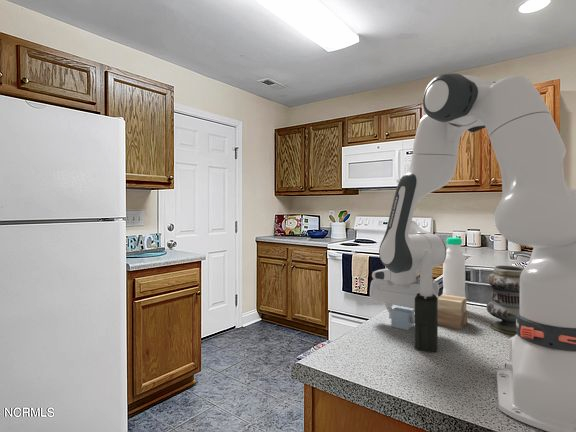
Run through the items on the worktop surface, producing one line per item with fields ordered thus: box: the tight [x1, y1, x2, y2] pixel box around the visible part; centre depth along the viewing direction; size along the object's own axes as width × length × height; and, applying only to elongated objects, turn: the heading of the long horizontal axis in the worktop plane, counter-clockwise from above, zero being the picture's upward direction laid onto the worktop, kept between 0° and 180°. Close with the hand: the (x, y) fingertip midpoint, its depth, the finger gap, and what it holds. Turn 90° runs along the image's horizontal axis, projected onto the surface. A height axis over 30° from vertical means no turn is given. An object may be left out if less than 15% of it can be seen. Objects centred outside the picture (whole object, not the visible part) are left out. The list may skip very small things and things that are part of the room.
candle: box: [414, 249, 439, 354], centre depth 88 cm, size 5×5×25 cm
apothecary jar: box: [485, 264, 525, 336], centre depth 100 cm, size 12×12×18 cm
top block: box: [438, 293, 467, 316], centre depth 106 cm, size 7×7×4 cm
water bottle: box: [442, 236, 466, 298], centre depth 120 cm, size 7×7×25 cm
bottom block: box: [438, 309, 468, 330], centre depth 107 cm, size 8×8×4 cm
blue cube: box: [390, 306, 415, 331], centre depth 104 cm, size 5×5×5 cm
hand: (402, 320), depth 104 cm, fingers closed on blue cube, 5 cm apart
